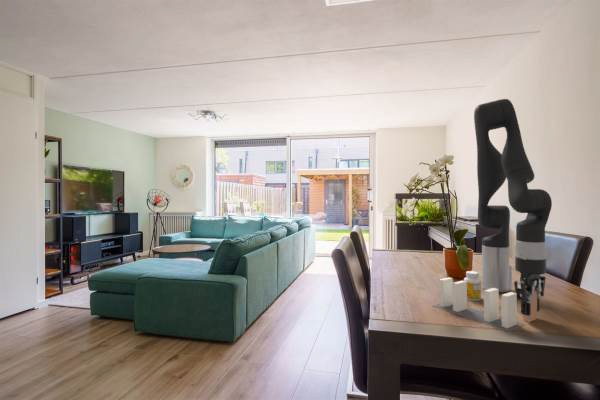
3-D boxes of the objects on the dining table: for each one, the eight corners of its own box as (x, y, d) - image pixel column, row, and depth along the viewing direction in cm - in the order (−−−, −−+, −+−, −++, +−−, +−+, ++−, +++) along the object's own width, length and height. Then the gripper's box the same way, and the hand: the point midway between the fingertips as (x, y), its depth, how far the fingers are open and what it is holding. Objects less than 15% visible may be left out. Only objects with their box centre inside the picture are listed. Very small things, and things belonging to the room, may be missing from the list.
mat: (432, 307, 109) (432, 306, 109) (448, 302, 113) (448, 301, 113) (508, 333, 88) (508, 331, 88) (524, 325, 93) (524, 324, 93)
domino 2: (452, 310, 104) (452, 282, 104) (462, 307, 107) (462, 280, 107) (457, 311, 103) (457, 283, 103) (466, 308, 106) (466, 281, 105)
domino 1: (439, 305, 109) (439, 279, 109) (448, 303, 111) (448, 277, 111) (443, 307, 107) (443, 280, 107) (452, 304, 110) (452, 278, 110)
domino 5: (523, 321, 96) (523, 291, 96) (531, 318, 98) (531, 288, 98) (529, 323, 94) (529, 292, 94) (537, 319, 97) (537, 290, 97)
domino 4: (501, 326, 92) (501, 294, 91) (510, 322, 94) (510, 291, 94) (507, 328, 90) (507, 296, 90) (516, 324, 93) (516, 293, 93)
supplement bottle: (460, 297, 119) (460, 270, 119) (474, 296, 119) (474, 270, 119) (469, 301, 114) (469, 274, 113) (484, 301, 114) (484, 273, 114)
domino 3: (483, 320, 96) (483, 290, 96) (493, 317, 98) (493, 287, 98) (489, 322, 94) (489, 291, 94) (498, 318, 97) (498, 289, 97)
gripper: (528, 251, 103) (528, 304, 103) (504, 256, 96) (504, 313, 96) (556, 255, 97) (556, 312, 97) (532, 261, 89) (532, 322, 89)
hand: (530, 312), depth 96 cm, fingers closed on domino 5, 5 cm apart
